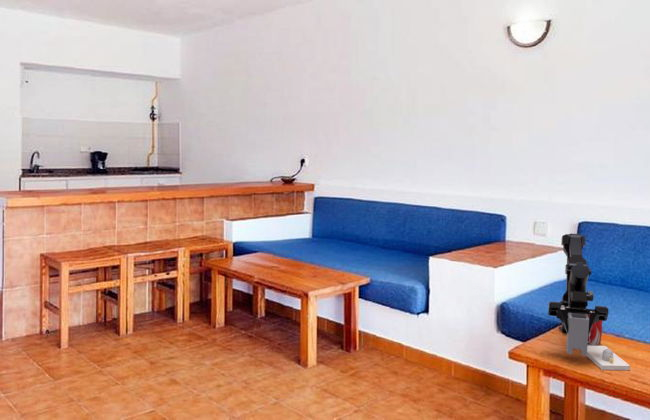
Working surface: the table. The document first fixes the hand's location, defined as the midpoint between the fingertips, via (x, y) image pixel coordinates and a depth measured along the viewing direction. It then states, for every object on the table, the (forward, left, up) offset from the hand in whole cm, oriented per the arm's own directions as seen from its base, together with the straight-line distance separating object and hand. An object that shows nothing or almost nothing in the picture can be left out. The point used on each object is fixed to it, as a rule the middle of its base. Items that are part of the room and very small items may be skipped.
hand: (577, 333), depth 193 cm
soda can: (-18, +10, -10) cm, 23 cm away
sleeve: (-1, 0, -7) cm, 7 cm away
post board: (-3, +10, -10) cm, 14 cm away
